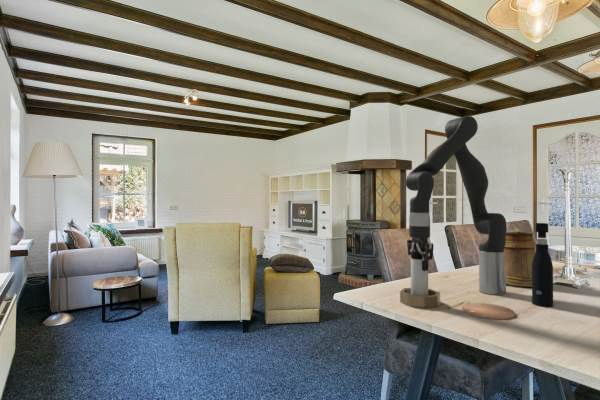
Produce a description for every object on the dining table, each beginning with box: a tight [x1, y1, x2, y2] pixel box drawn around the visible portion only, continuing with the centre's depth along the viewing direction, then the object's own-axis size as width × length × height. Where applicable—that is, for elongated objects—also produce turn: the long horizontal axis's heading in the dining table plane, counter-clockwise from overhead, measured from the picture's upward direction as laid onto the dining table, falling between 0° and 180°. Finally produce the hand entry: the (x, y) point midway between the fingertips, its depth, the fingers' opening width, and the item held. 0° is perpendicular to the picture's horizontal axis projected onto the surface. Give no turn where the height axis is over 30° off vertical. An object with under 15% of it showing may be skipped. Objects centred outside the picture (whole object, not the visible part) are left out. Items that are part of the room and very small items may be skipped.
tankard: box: [504, 227, 536, 288], centre depth 167 cm, size 18×24×25 cm
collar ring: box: [399, 287, 441, 309], centre depth 134 cm, size 13×13×4 cm
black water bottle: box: [531, 222, 554, 308], centre depth 131 cm, size 6×6×30 cm
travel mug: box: [410, 250, 429, 296], centre depth 134 cm, size 6×7×20 cm
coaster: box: [461, 302, 516, 321], centre depth 122 cm, size 16×16×1 cm
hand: (419, 268), depth 134 cm, fingers closed on travel mug, 6 cm apart
